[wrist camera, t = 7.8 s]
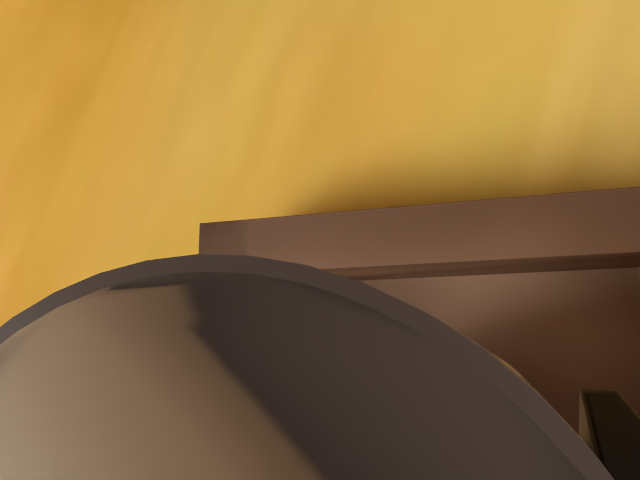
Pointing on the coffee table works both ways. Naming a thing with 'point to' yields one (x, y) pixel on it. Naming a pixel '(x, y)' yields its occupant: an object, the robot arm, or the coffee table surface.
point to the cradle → (491, 276)
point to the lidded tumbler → (263, 384)
